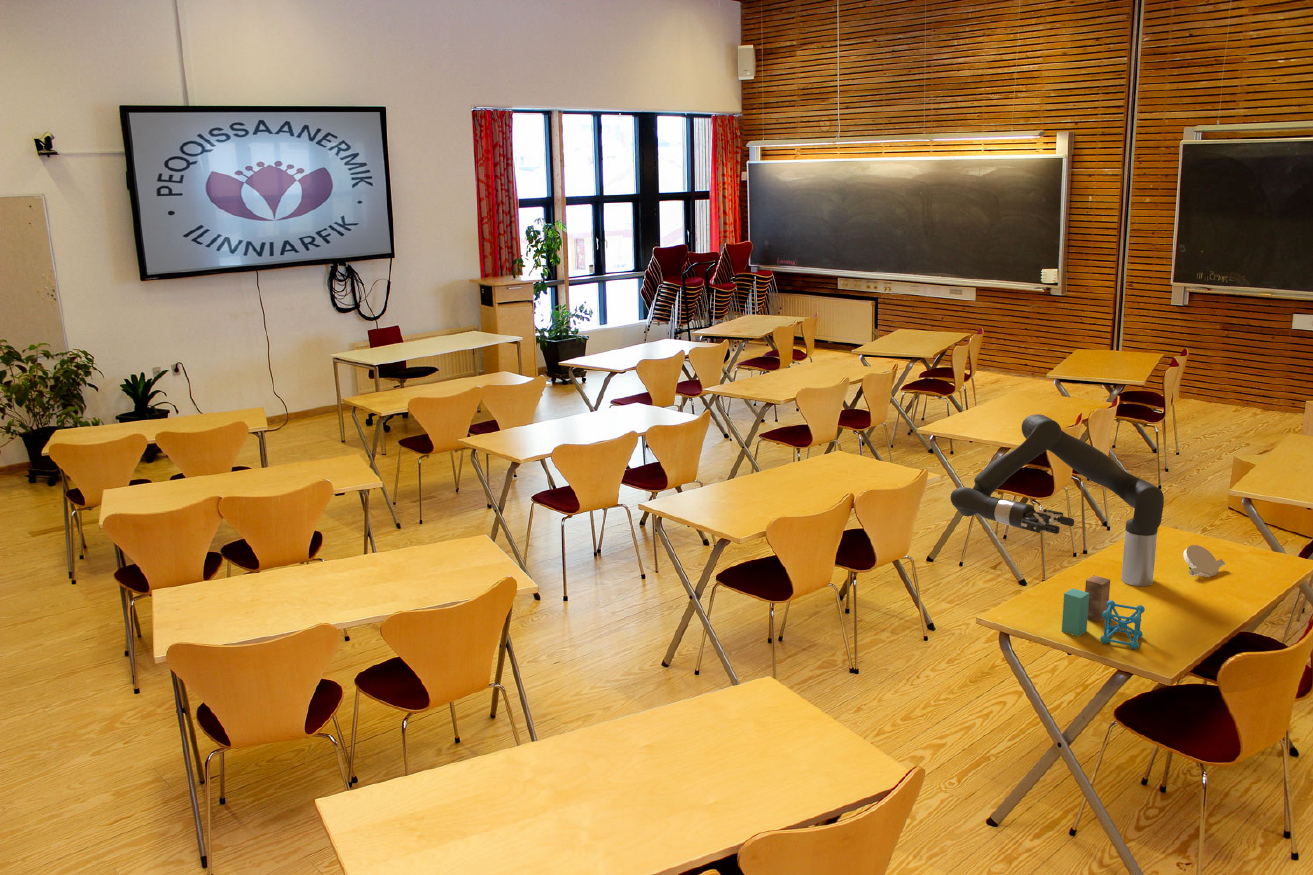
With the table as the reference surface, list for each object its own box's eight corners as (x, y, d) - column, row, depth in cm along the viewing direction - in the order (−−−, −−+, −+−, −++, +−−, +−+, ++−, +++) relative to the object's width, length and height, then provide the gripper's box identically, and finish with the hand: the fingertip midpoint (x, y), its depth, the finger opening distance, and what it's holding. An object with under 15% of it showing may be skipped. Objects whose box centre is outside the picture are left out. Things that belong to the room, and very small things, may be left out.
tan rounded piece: (1200, 580, 320) (1186, 547, 323) (1180, 585, 327) (1166, 552, 330) (1230, 570, 327) (1216, 537, 329) (1209, 575, 334) (1196, 543, 336)
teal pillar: (1061, 631, 293) (1064, 593, 290) (1070, 625, 296) (1072, 588, 293) (1078, 636, 289) (1080, 598, 286) (1086, 630, 292) (1089, 592, 289)
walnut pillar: (1083, 617, 301) (1085, 580, 298) (1091, 611, 304) (1093, 575, 301) (1099, 622, 297) (1102, 584, 294) (1107, 616, 300) (1110, 579, 297)
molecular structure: (1138, 651, 279) (1141, 618, 276) (1099, 643, 284) (1101, 611, 282) (1142, 636, 287) (1145, 604, 285) (1105, 629, 292) (1107, 598, 290)
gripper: (1002, 507, 294) (1054, 520, 282) (1027, 496, 303) (1079, 508, 291) (1000, 531, 296) (1053, 545, 284) (1025, 519, 305) (1077, 532, 293)
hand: (1066, 526), depth 288 cm, fingers open, 8 cm apart
